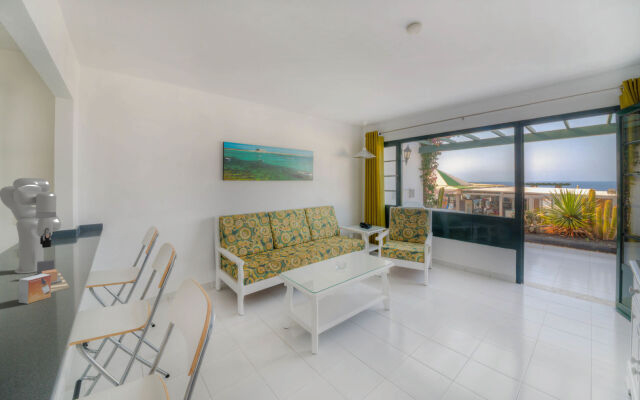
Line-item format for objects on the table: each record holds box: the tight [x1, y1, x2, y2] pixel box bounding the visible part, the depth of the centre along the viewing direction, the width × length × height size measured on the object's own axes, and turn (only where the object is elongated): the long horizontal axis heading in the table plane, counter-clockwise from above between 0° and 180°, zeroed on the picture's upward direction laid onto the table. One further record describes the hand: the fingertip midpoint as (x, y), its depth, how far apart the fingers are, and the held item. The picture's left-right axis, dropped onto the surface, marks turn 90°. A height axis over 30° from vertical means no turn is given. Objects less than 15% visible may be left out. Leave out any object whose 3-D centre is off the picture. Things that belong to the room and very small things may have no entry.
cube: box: [42, 268, 58, 282], centre depth 126 cm, size 5×5×5 cm
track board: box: [29, 271, 70, 293], centre depth 128 cm, size 33×11×1 cm, turn 53°
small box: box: [18, 274, 52, 305], centre depth 110 cm, size 8×6×10 cm
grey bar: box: [33, 259, 62, 284], centre depth 130 cm, size 22×8×8 cm, turn 53°
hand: (45, 245), depth 136 cm, fingers open, 9 cm apart
